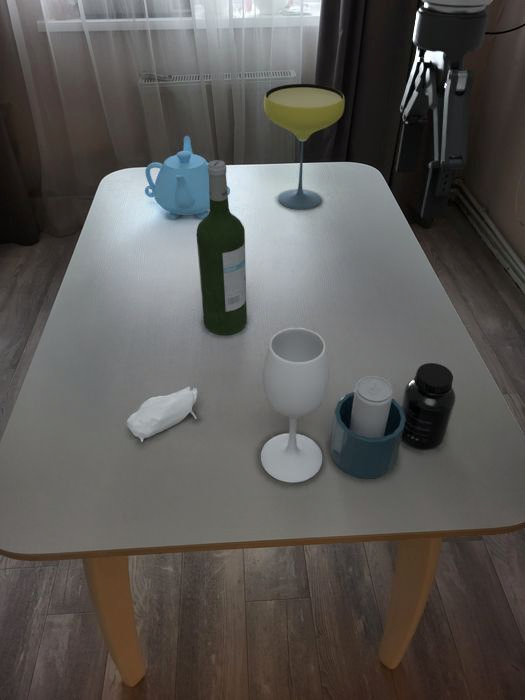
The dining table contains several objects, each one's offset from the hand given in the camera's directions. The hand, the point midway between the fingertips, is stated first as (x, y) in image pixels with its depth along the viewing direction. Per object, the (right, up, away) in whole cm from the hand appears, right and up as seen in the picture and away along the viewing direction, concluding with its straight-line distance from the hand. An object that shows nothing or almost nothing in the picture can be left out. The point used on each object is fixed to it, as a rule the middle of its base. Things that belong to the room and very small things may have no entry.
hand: (418, 192), depth 73 cm
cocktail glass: (-11, +17, +67) cm, 70 cm away
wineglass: (-16, -36, +5) cm, 40 cm away
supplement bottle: (+3, -33, +9) cm, 34 cm away
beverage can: (-6, -35, +6) cm, 36 cm away
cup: (-6, -35, +6) cm, 36 cm away
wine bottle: (-27, -16, +29) cm, 43 cm away
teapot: (-39, +14, +63) cm, 75 cm away
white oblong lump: (-36, -32, +10) cm, 49 cm away
